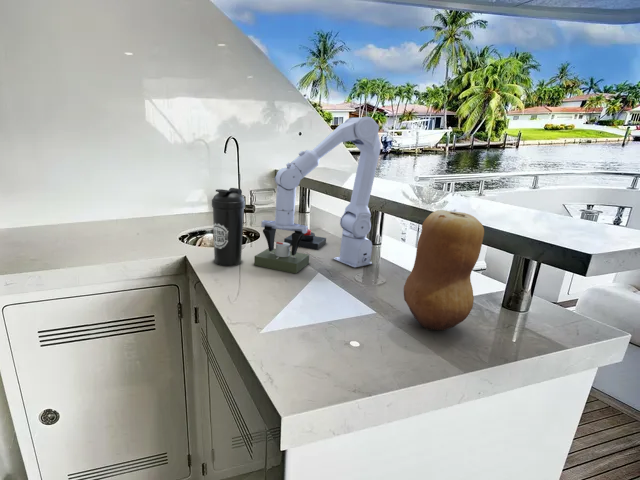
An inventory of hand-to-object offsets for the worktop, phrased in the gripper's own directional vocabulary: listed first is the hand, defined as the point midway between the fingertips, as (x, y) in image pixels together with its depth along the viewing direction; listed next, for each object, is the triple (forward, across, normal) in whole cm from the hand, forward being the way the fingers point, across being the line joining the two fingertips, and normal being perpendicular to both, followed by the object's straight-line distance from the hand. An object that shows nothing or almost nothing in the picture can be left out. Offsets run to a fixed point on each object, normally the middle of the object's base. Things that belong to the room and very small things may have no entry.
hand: (282, 252), depth 119 cm
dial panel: (+4, 0, 0) cm, 4 cm away
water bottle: (+4, -16, -7) cm, 18 cm away
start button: (0, -2, +27) cm, 27 cm away
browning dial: (+1, 0, 0) cm, 1 cm away
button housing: (+4, -2, +27) cm, 27 cm away
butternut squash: (+4, +44, -20) cm, 48 cm away
